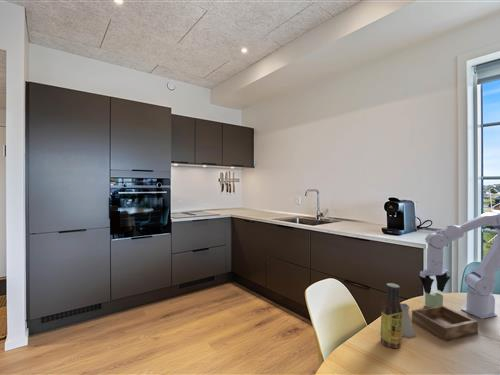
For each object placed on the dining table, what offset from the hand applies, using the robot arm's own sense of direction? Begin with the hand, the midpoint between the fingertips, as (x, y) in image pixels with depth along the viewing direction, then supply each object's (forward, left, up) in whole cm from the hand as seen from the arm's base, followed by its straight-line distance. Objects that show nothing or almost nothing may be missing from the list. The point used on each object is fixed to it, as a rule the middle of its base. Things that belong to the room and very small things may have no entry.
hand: (433, 291), depth 114 cm
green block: (0, 0, -7) cm, 7 cm away
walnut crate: (+12, +13, -7) cm, 19 cm away
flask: (+29, +11, -7) cm, 32 cm away
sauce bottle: (+39, +15, -7) cm, 42 cm away
